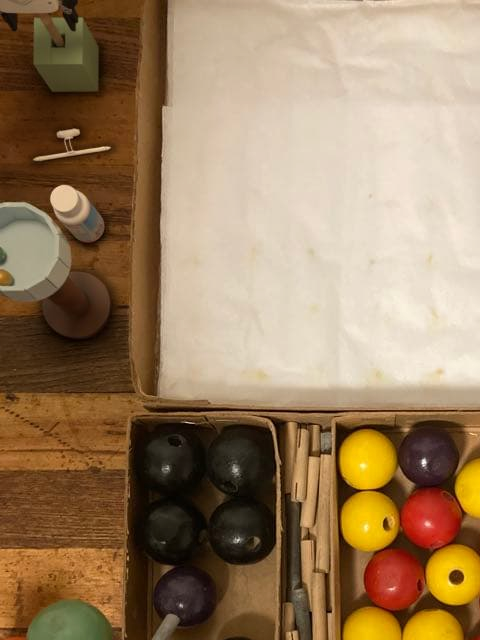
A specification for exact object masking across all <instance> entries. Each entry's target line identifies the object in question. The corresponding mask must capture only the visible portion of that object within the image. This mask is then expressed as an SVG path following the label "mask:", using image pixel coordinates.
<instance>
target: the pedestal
mask: <svg viewBox="0 0 480 640" xmlns="http://www.w3.org/2000/svg"><path fill="white" fill-rule="evenodd" d="M112 300H113V299H112V296H111V293H110V291H109V289H108V288H107V286H106V285H105V284H104V283H103V281H102V280H100V279H99V278H98V277H97V276H96V275H94V274H92V273H89V272H86V271H82V270H81V271H80V270H73V271H69V274H68V277H67V278H66V280H65V282H64V283H63V285H62V286H61V287H60V288H59V289H58V290H57V291H56V292H55V293H53V294H52V295H50V296H49V297H47V298H45V299H42V300H41V309H42V314H43V317H44V319H45V321H46V323H47V324H48V326H49V327H50V328H51V329H52V330H54V331H55V332H56V333H57V334H58V335H60V336H63V337H65V338H68V339H70V340H71V339H73V340H83V339H88V338H91V337H92V336H95V335H97V334H98V333H100V332H101V331H102V330H103V329H104V328H105V327H106V326H107V324H108V322H109V320H110V318H111V315H112V311H113V301H112Z"/></svg>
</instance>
